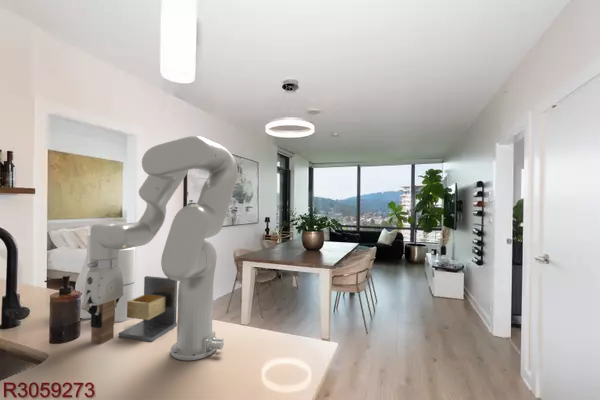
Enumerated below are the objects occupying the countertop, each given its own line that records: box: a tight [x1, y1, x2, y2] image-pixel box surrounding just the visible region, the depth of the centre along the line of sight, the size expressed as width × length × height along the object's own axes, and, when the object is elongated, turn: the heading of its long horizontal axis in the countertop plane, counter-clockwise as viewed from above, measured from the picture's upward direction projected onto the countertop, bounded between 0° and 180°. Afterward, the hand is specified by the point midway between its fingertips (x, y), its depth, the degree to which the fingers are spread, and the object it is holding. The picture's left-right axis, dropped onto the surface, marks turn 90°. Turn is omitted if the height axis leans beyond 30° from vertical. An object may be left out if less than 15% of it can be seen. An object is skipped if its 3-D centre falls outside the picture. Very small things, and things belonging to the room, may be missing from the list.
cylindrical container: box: [114, 247, 136, 323], centre depth 109 cm, size 7×7×25 cm
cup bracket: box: [118, 275, 178, 343], centre depth 98 cm, size 12×12×16 cm
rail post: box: [90, 300, 115, 345], centre depth 92 cm, size 4×4×14 cm
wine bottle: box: [74, 232, 91, 320], centre depth 111 cm, size 10×10×30 cm
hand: (102, 323), depth 92 cm, fingers closed on rail post, 4 cm apart
